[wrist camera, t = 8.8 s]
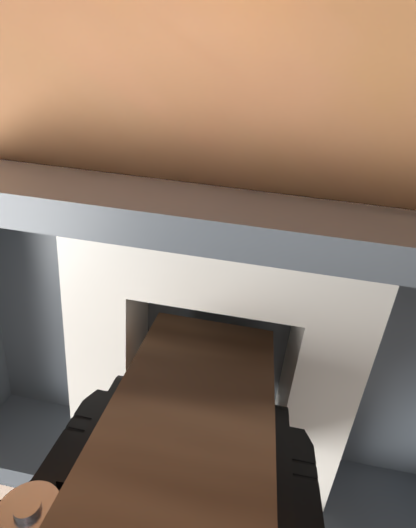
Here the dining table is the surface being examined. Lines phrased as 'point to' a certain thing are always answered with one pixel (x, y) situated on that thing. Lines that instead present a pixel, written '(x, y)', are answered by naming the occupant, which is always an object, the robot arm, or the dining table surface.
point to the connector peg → (182, 436)
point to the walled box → (214, 313)
